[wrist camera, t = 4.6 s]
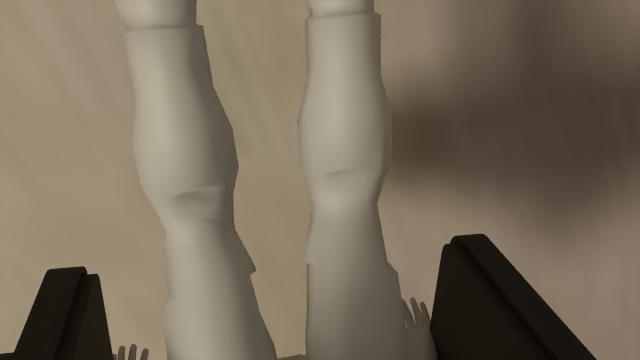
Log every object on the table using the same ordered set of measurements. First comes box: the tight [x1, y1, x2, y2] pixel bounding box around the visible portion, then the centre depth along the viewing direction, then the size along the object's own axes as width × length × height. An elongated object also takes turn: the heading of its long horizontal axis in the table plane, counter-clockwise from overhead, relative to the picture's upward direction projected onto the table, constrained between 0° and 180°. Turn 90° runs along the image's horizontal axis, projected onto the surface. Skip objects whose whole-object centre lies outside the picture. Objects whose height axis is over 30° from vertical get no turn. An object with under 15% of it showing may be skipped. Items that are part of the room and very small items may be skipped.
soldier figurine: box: [113, 0, 438, 360], centre depth 9 cm, size 6×5×12 cm
